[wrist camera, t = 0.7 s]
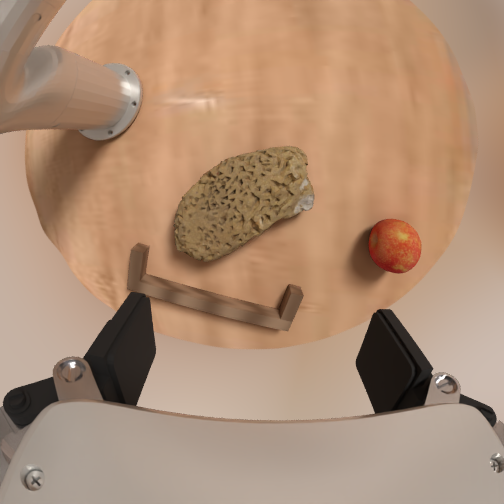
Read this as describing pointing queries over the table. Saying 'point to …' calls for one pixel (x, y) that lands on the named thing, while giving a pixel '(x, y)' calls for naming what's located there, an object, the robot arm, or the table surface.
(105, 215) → the table surface
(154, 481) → the robot arm
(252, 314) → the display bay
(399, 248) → the apple
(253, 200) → the sponge
